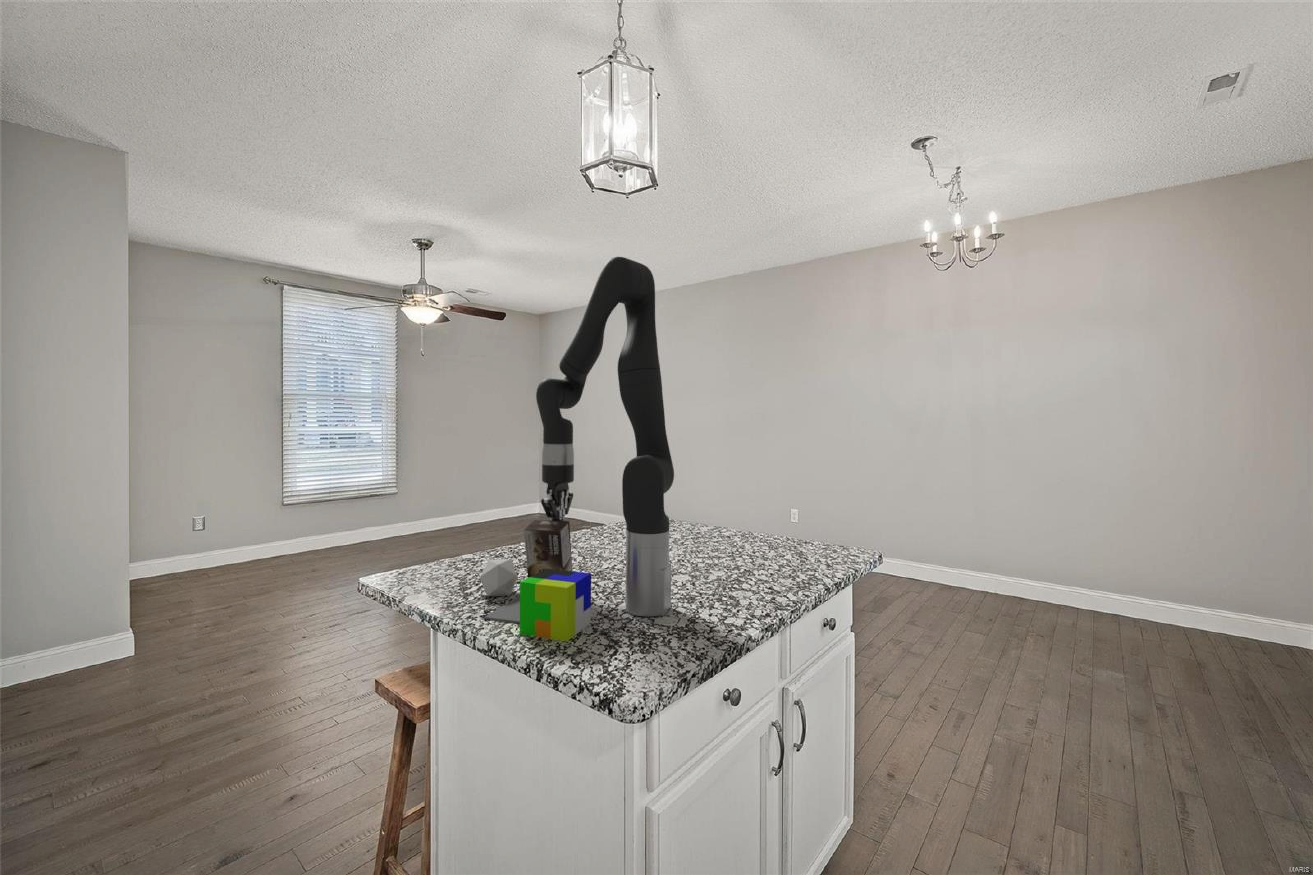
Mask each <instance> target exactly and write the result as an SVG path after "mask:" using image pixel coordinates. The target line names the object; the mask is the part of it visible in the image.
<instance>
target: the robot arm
mask: <svg viewBox="0 0 1313 875" xmlns="http://www.w3.org/2000/svg"><path fill="white" fill-rule="evenodd" d="M618 304H623V306H624V309H625V315H626V316H625V317H626V327H627V328H626V336H625V340H624V341H623V345H622V346H621V347H622V348H621V350H620V353H619V357H618V361H617V378H618V387H619V388H618V389H619V394H620V398H621V402H622V406H623V408H624V410H625V412H626V415H627V417H628V419H629V422H630V424H631V427H632V430H633V434H634V439H635V450H636V457H633V458H631V459H630V460H629V461H628V462H627V464H626V465H625V467H624V469H623V472H622V478H621V479H622V480H621V481H622V484H621V485H622V486H621V487H622V488H621V489H622V490H621V491H622V493H621V494H622V514H623V518H624V520H625V529H626V530H625V533H626V534H625V537H626V538H625V598H624V599H625V611H626V612H627V613H628V614H630V615H633V616H638V617H655V616H662V617H663V616H665V615H667V613H668V611H670V608H671V607H672V563H670V518H669V516H668V515H667V514H666V512H665V494H666V493H667V492H668V491H669V490H670V489H671V487H672V486H673V483H674V480H675V479H674V478H675V471H674V465H673V464H674V463H673V460H672V455H671V451H670V446H669V442H668V436H667V429H666V418H665V405H664V396H663V382H662V374H661V364H660V358H659V350H658V349H659V348H658V339H657V329H656V328H657V326H656V284H655V279H654V275H653V273H652V271H651V270H650V268H649V267H648V266H647V265H645V264H643V263H640V262H638V261H635V260H632V259H630V258H627V257H624V256H615V257H612V258H610V259H609V260H608V261H607V262H606V263H605V265H604V266H603V268H602V269H601V271H600V273H599V275H598V278H597V280H596V283H595V285H594V287H593V291H592V293H591V295H590V298H589V300H588V304H587V307H586V309H585V311H584V314H583V317H582V319H581V322H580V325H579V326H578V329H577V331H576V333H575V335H574V337H573V339H572V340H571V342H570V343H569V345H568V347H567V349H566V350H565V353H564V354H563V356H562V357H561V359H560V361H559V365H558V367H559V370H560V371H561V373H562V374H563V375H564V376H565V377H564V378H563V379H561V378H560V379H559V378H550V377H549V378H545V379H542V380H541V381H540V382H539V384H538V386H537V388H536V395H535V398H536V399H535V400H536V404H537V409H538V410H539V411H538V412H539V416H540V420H541V423H542V427H543V429H542V432H543V433H542V434H543V435H542V436H543V438H542V442H543V443H542V444H543V445H542V453H541V481H542V483H544V484H547V486H546V487H547V488H546V497H545V498H541V500H540V503H541V505H542V508H543V510H544V513H545V515H546V517H547V518H548V519H551V521H564V519H565V518H566V515H568V514H569V511H570V507H571V504H572V502H573V498H574V493H573V492H570V486H569V484H571V483H573V482H574V481H575V480H574V479H575V453H574V452H575V451H574V425H573V423H572V422H573V421H571V420H569V419H567V418H564V417H563V416H562V412H561V409H563V410H565V409H566V410H569V409H572V408H573V407H575V406H576V405H577V404H578V403H579V402H580V401H581V397H582V395H583V391H584V389H585V385H586V381H587V377H588V375H589V373H590V372H591V370H592V368H593V367H594V365H595V364H596V362H597V361H598V359H599V357H600V355H601V353H602V350H603V345H604V338H605V337H604V336H605V330H606V327H607V326H606V325H607V322H608V320H609V317H610V315H611V314H612V313H613V311H614V310H615V308H616V307H617V306H618Z"/></svg>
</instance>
